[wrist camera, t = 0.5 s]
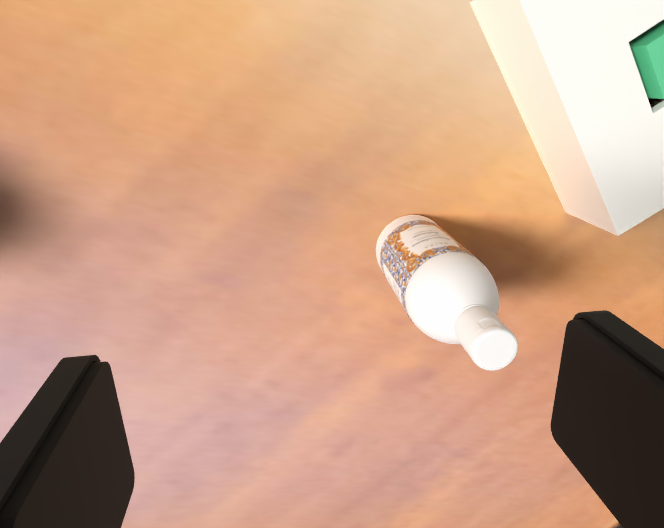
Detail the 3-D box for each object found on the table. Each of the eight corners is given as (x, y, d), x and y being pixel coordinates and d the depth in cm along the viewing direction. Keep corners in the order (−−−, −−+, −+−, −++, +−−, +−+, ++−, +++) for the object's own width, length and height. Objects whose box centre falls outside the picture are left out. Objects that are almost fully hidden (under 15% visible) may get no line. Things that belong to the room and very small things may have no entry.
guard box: (469, 2, 41) (513, -15, 34) (662, -130, 40) (752, -178, 32) (565, 212, 49) (618, 236, 42) (729, 109, 48) (815, 115, 40)
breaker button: (610, 48, 40) (646, 45, 36) (660, 16, 39) (700, 10, 36) (628, 97, 41) (664, 98, 38) (675, 66, 41) (716, 65, 37)
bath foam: (440, 207, 47) (551, 289, 29) (445, 272, 50) (550, 387, 31) (370, 219, 47) (437, 311, 28) (378, 285, 50) (444, 408, 31)
